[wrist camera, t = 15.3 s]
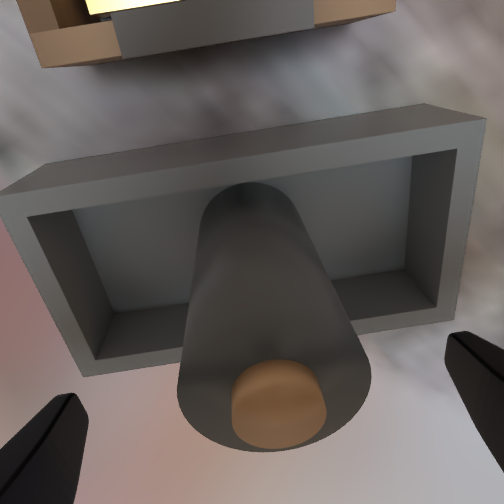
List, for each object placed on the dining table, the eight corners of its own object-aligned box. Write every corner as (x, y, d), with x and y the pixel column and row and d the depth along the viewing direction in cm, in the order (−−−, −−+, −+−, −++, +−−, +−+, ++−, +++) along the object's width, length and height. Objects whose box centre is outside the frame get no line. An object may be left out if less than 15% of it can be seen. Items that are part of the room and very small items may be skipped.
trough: (423, 103, 15) (486, 118, 11) (410, 269, 19) (453, 319, 15) (45, 163, 15) (-10, 197, 11) (109, 316, 19) (83, 377, 15)
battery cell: (296, 174, 15) (387, 321, 7) (304, 266, 17) (379, 464, 9) (189, 191, 15) (147, 358, 7) (210, 281, 17) (198, 492, 9)
